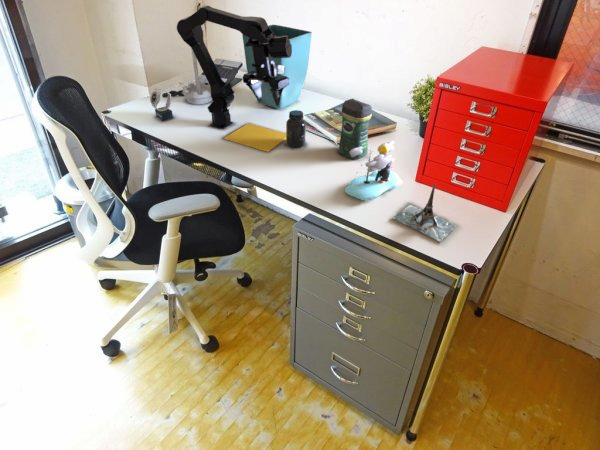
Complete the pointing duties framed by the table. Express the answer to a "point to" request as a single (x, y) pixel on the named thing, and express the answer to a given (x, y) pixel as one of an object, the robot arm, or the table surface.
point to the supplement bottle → (295, 130)
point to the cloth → (257, 137)
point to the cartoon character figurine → (374, 175)
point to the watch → (161, 112)
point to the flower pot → (293, 65)
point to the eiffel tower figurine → (426, 220)
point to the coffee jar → (354, 127)
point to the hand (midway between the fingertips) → (269, 103)
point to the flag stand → (197, 88)
